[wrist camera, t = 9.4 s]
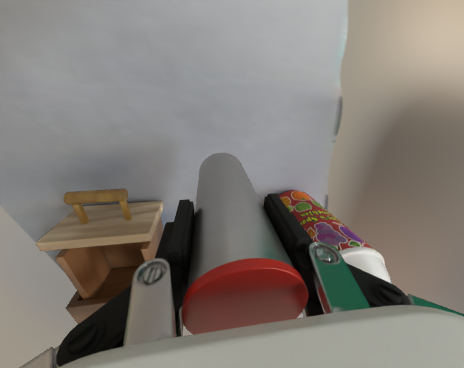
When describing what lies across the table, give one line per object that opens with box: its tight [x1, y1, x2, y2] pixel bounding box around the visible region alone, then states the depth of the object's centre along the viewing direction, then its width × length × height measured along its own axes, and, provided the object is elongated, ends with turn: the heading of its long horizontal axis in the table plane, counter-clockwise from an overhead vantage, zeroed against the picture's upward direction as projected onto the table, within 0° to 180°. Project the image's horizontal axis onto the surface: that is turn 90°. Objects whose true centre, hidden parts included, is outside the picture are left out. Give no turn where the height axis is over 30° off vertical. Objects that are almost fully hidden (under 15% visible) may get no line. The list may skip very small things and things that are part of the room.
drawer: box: [36, 189, 164, 300], centre depth 24 cm, size 17×11×7 cm
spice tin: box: [181, 153, 308, 335], centre depth 12 cm, size 5×5×12 cm
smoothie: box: [279, 190, 392, 284], centre depth 21 cm, size 8×8×20 cm
